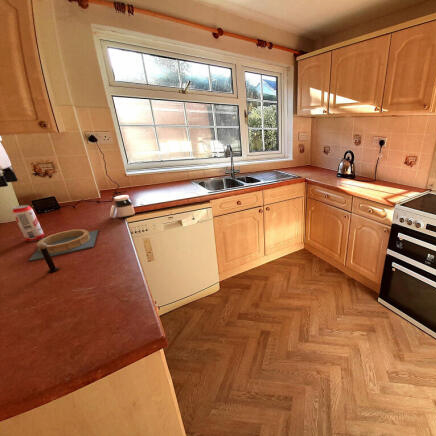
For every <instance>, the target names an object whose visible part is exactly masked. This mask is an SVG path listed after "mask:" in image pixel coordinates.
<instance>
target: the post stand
mask: <svg viewBox="0 0 436 436" xmlns="http://www.w3.org/2000/svg"><path fill="white" fill-rule="evenodd" d="M46 247H47V245H46V244H45V243H40V244H39V245H38V247H37V249H38V248H39V249H40V250H41V252H42V254H43V256H44V258H43V259H44V260H45V263H46V265H47V267H48V271H47V272H48V273H50V274H52V273H55V272H57V271H59V267H58V266H56V265H55V262H54V261H53V259H52V258H53V257H51V256H50V254H49V252H48V250H47V248H46Z"/></svg>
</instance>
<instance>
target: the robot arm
mask: <svg viewBox="0 0 436 436" xmlns="http://www.w3.org/2000/svg"><path fill="white" fill-rule="evenodd" d="M2 141H3V138H2V135H0V188H5V187H8V186H9V184H8V183H16V182H18V181H19V179H18V177H17V174H16V173H15V171H14V168H13V167H12V162H11V160H10V157H9V155H8V153H7V152H6V149H5V148H4V146H3V144H2Z"/></svg>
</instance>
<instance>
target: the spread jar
mask: <svg viewBox="0 0 436 436" xmlns="http://www.w3.org/2000/svg"><path fill="white" fill-rule="evenodd" d="M113 200H114V205H111V207H110V210H109V218H111V219H114V218H115V217H116V215H118V218H119V219H121V220H123V219H124V220H125V219H130V218H132V217H135V215H136V212H135V208H134V205H133V203H132V201H131V199H130V196H129V194H121V195H120V194H119V195H116V196H114V197H113Z"/></svg>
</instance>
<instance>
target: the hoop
mask: <svg viewBox="0 0 436 436" xmlns="http://www.w3.org/2000/svg"><path fill="white" fill-rule="evenodd" d="M89 232H90V231H89V230H86V229H83V228H81V229H70V230H69V229H68V230H64V231H60V232H57V233H53V234H50V235H47V236H46V237H43V239H40V240H38V242H37V243H36V247H37V249H39V248H38V245H39V244H40V243H45V244H46V245H47V247H46V248H47V250H48V252H49V253H57V252H61V251H66V250H70V249H72V248H75V247H78V246H81V245H82V244H84V243H86V242H87V241H89V239H90V235H89ZM76 236H81V237H79V238H77V239H75V240H72V241H69V242H66V243H61V244H56V245H49V244H51V243H53V242H56V241H59V240H62V239H65V238H70V237H76ZM39 251H40V252H41V250H40V249H39Z"/></svg>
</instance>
